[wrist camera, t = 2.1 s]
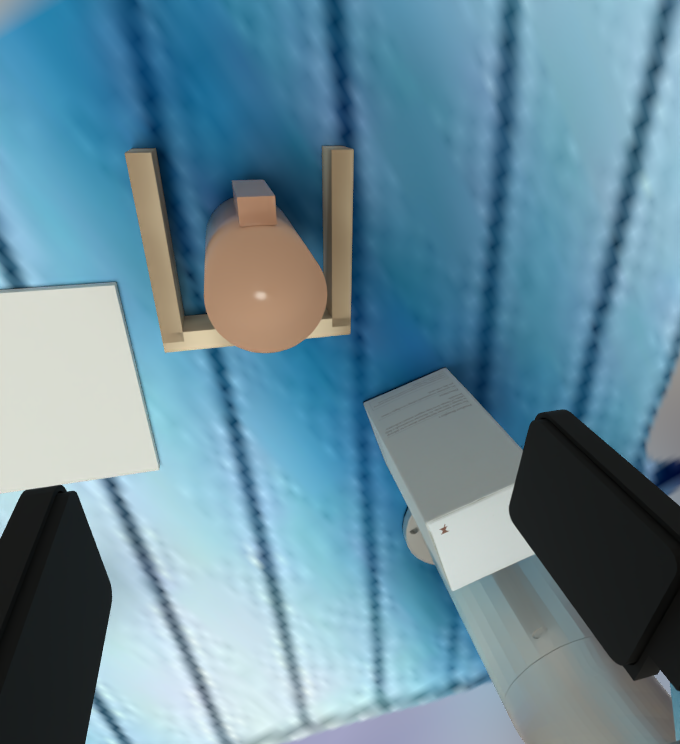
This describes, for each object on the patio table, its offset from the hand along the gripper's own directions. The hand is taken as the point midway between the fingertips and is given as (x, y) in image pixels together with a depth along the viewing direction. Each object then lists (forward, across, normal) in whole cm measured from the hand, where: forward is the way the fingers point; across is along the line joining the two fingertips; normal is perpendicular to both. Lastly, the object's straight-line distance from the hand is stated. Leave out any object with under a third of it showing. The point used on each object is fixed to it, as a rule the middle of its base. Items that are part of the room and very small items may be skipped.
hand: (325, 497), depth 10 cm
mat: (+22, +15, +9) cm, 28 cm away
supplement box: (+22, -12, +15) cm, 30 cm away
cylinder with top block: (+22, 0, 0) cm, 22 cm away
